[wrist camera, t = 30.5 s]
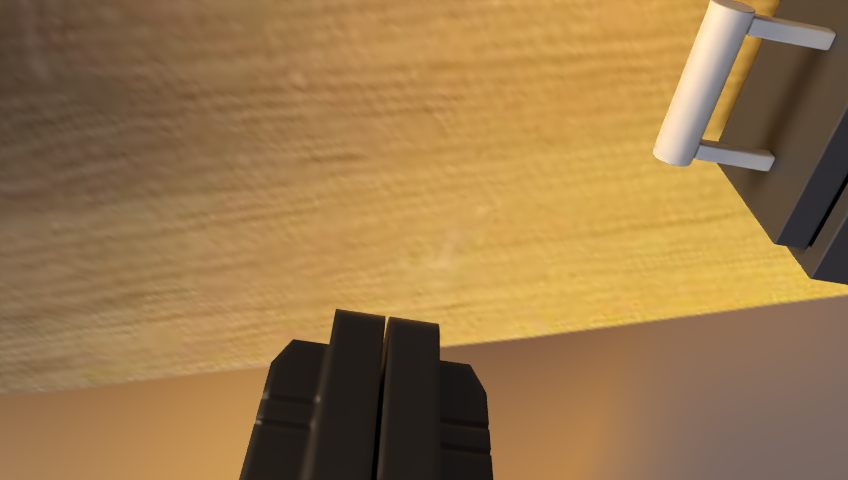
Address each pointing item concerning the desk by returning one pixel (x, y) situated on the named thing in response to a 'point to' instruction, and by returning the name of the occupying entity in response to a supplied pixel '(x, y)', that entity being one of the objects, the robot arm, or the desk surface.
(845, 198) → the dark box
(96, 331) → the desk surface
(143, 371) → the desk surface
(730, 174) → the drawer
